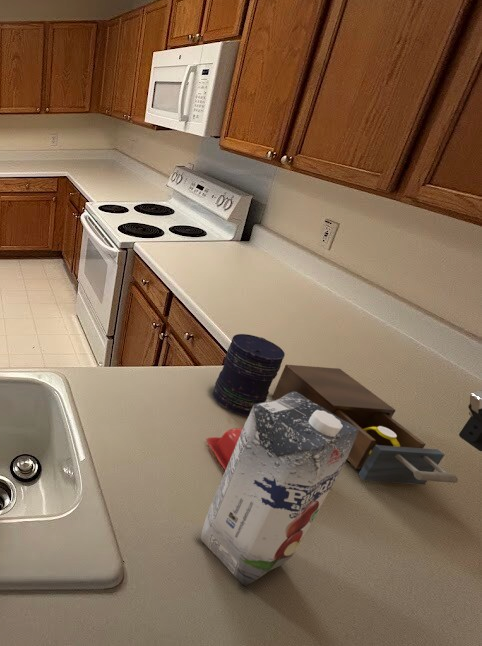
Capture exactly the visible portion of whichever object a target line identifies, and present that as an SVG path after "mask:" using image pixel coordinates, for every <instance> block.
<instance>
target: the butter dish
mask: <svg viewBox="0 0 482 646" xmlns="http://www.w3.org/2000/svg"><path fill="white" fill-rule="evenodd" d="M242 430H243V427H239V428H238V427H236V428H230V429H228V430H226V431H225V432H224V433H223V435H222V436H221V437H219V436H218V437H217V436H215V437H213V436H212V437H207V438H206V440H205V441H206V443H207V444H208V446H209V448H210V449H211V451H212V453H213V454H214V456H215V457H216V458H217V460H218V462H219V463H220V465H221V466H222V469H223V470H224V471H225V470H226V468H227V465H228V463H229V461H230V458H231V456H232V453H233V451H234V449H235V446H236V444H237V441H238V439H239V437H240V434H241V432H242Z"/></svg>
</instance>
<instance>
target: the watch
mask: <svg viewBox="0 0 482 646" xmlns="http://www.w3.org/2000/svg"><path fill="white" fill-rule="evenodd" d="M363 430H364V431H367V430H374V431H376V432H377V433H378V434H379V435H381V436H382V437H384V438H386V439H389V440H390V441H391V443H392V444H393V446H397V447H400V444H399V442H398V441H397V439H396V437H397V435H396V434H395V433H394V432H393V431H392V430H390V429H388V428H386V427H382V426H378V427H368V428H364V429H363ZM371 452H372V450H370V452H369V455H370V454H371Z"/></svg>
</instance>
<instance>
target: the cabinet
mask: <svg viewBox="0 0 482 646" xmlns="http://www.w3.org/2000/svg"><path fill="white" fill-rule="evenodd" d="M293 391H295V392H297V393H299V394H301V395H302V396H304V397H305V398H307V399H309V400H310V401H312V402H314V403H316V404H317V405H319V406H321V407H322V408H324V409H326V410H327V411H329V412H331V413H332V414H333V413H334V411H335V409H343V410H356V411H370V412H384V413H386V414H387V415H389V416H390V417H391V418H392V419H393V416H394V414H395V413H396V411H397V410H396V409H395V408H394V407H393V406H391V405H390V404H389V403H387V402H386V401H384V400H383V399H382V398H380V397H379V396H378V395H376V394H375V393H374V392H372V391H371V390H369V389H368V388H367V387H365V386H364V385H363V384H361V383H360V382H359V381H358V380H356V379H355V378H353V377H352V376H350V375H349V374H348V373H346V372H345V371H344V370H343V369H341V368H336V367H325V366H324V367H322V366H311V365H295V364H285V366H284V368H283V370H282V372H281V375H280V377H279V380H278V381H277V383H276V387H275V388H274V391H273V394H271V395H272V396H271V398H273V399H274V401H275V400H278V399H280V398H282V397H283V396H285V395H287V394H288V393H290V392H293Z"/></svg>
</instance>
